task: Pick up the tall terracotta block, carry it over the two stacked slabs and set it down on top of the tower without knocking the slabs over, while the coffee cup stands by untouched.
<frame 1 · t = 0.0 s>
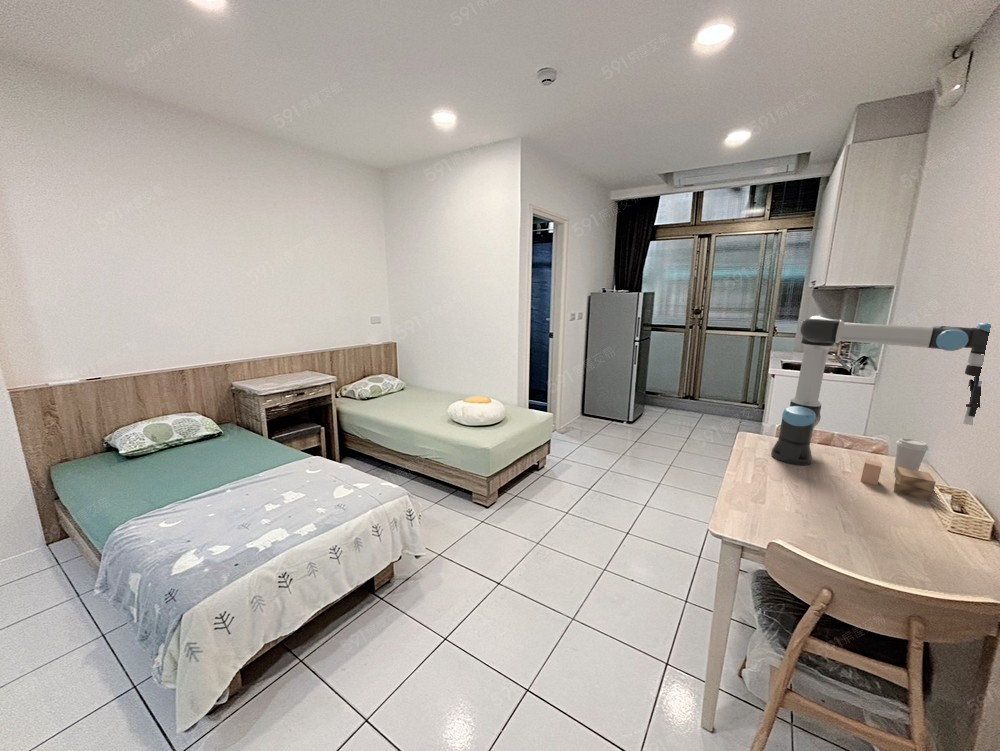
hand: (966, 420, 152), 28 cm above the table, fingers open, 13 cm apart
terracotta block: (869, 481, 162), on the table
coffee cup: (904, 475, 168), on the table
slab top: (912, 483, 153), point 4 cm above the table, touching slab bottom
slab bottom: (910, 493, 154), on the table, touching slab top
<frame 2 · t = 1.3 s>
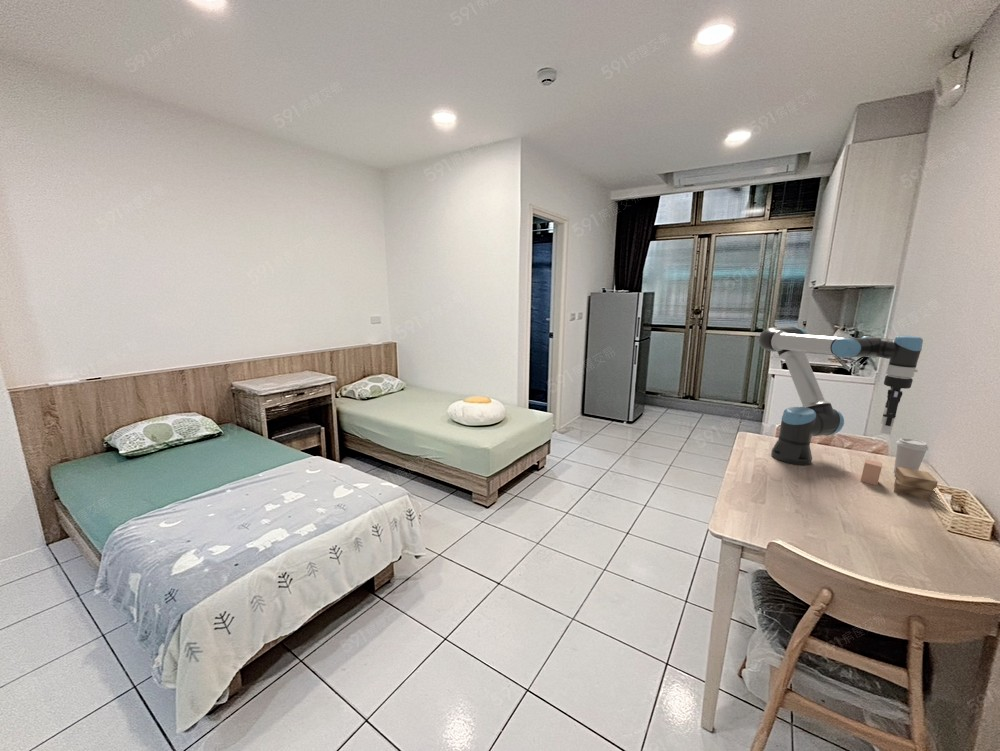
hand: (885, 428, 157), 23 cm above the table, fingers open, 13 cm apart
slab top: (913, 483, 153), point 4 cm above the table
slab bottom: (910, 492, 154), on the table
everything else where it was.
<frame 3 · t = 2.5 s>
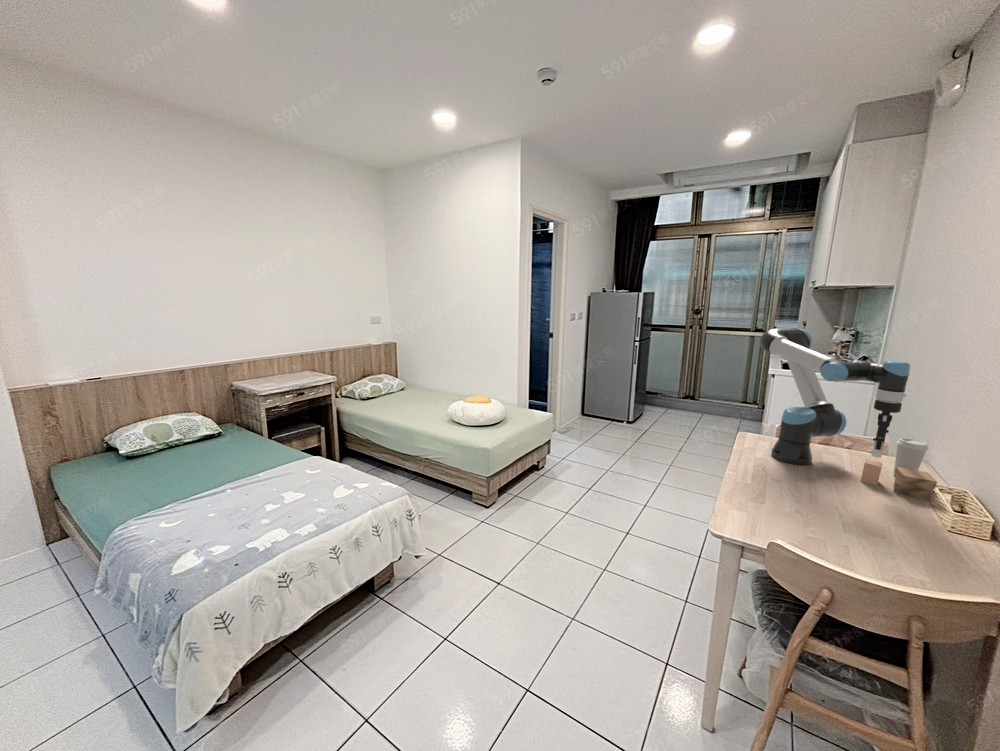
hand: (877, 452, 159), 13 cm above the table, fingers open, 13 cm apart
slab top: (913, 483, 153), point 4 cm above the table, touching slab bottom
slab bottom: (910, 492, 154), on the table, touching slab top
everything else where it was.
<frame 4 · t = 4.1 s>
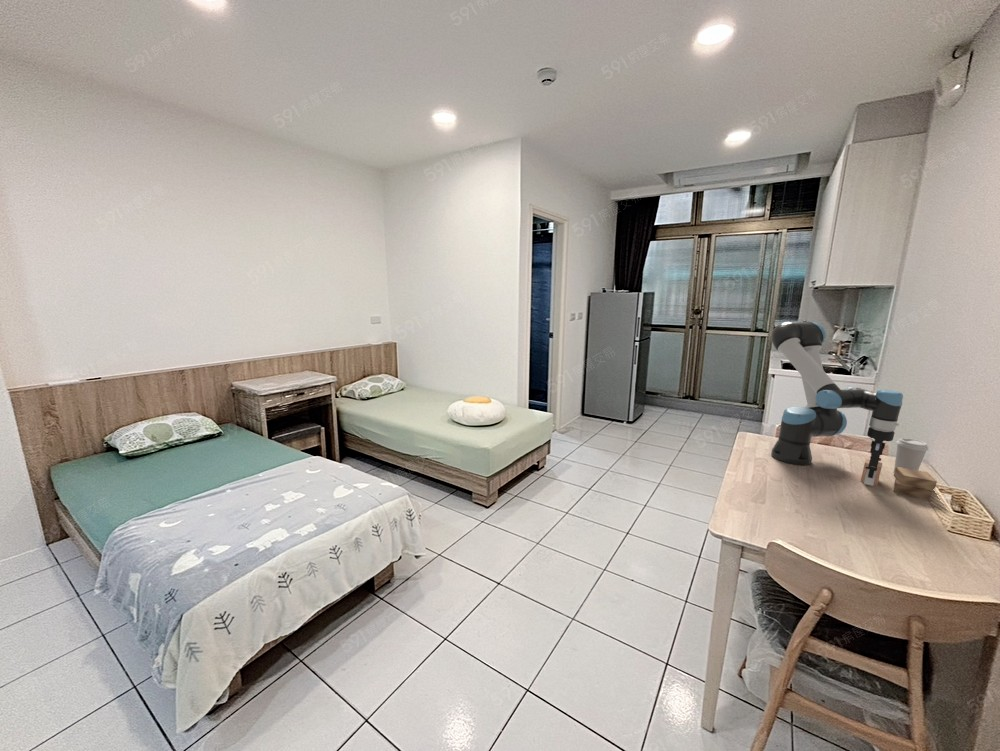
hand: (869, 479, 162), 1 cm above the table, fingers open, 11 cm apart
nothing on the table moved.
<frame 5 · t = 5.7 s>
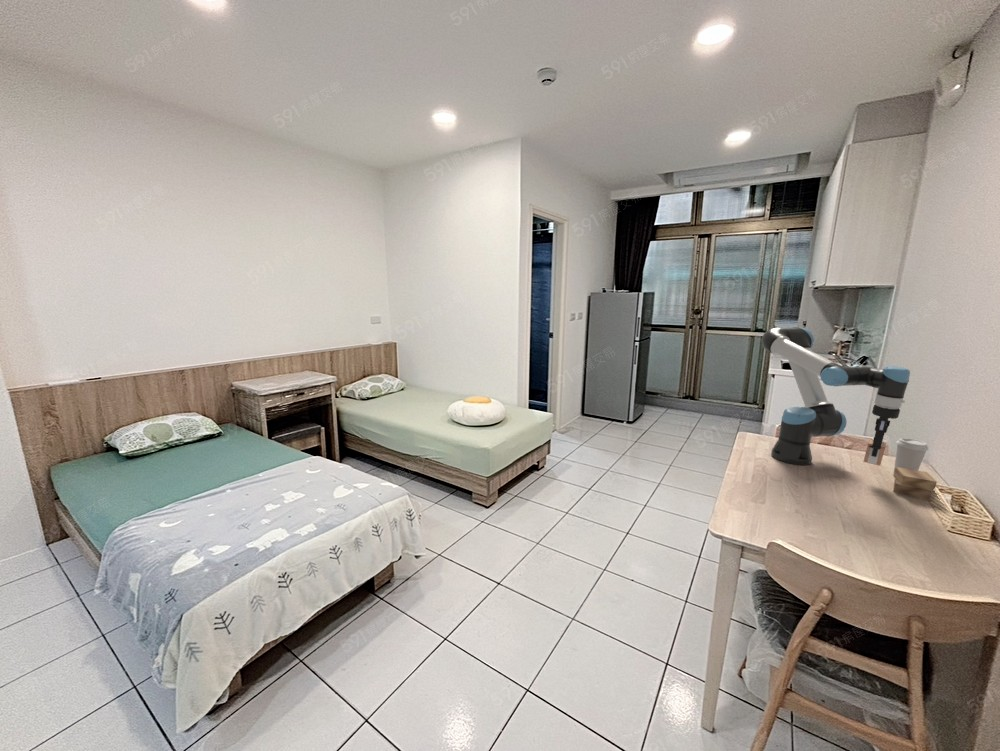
hand: (872, 460, 161), 9 cm above the table, fingers closed on terracotta block, 5 cm apart
terracotta block: (872, 461, 161), point 8 cm above the table, touching gripper
everything else where it was.
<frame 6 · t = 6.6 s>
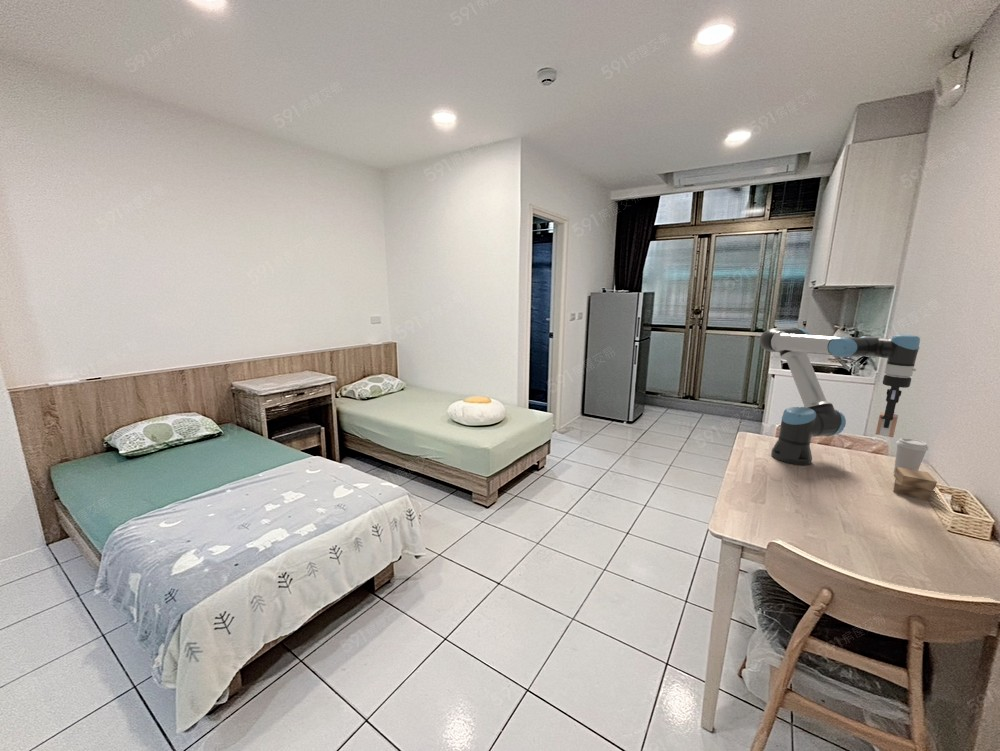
hand: (884, 433, 157), 21 cm above the table, fingers closed on terracotta block, 5 cm apart
terracotta block: (884, 434, 157), point 21 cm above the table, touching gripper
everything else where it was.
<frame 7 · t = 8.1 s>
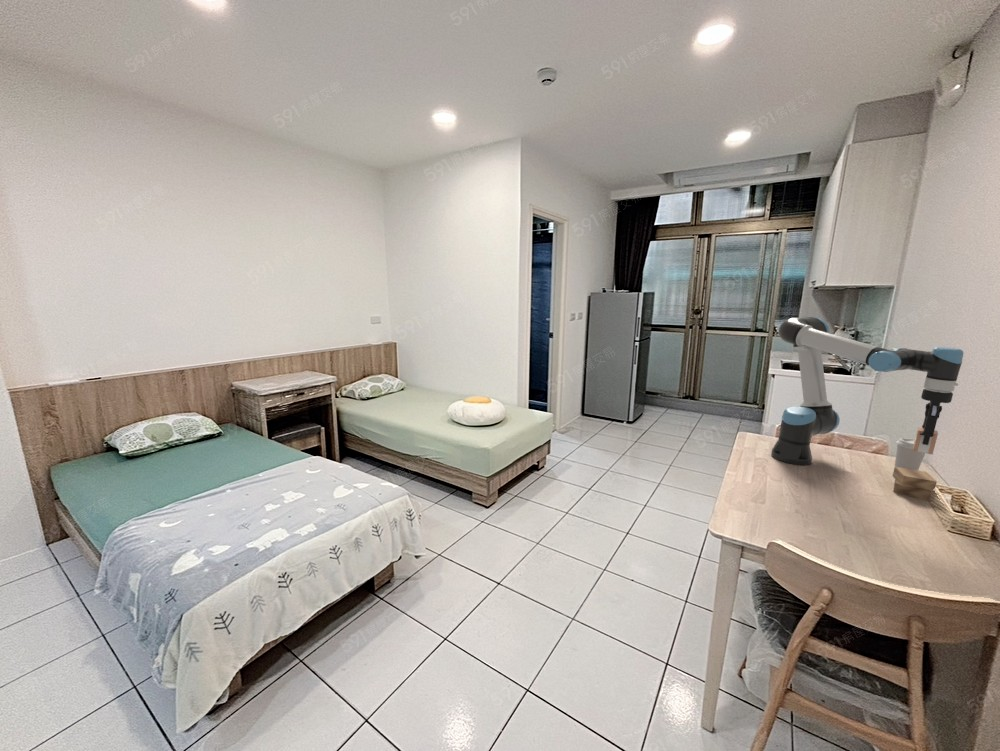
hand: (922, 449, 150), 17 cm above the table, fingers closed on terracotta block, 5 cm apart
terracotta block: (922, 450, 150), point 17 cm above the table, touching gripper
everything else where it was.
when the fingers open (9 cm above the table, at t = 10.2 s): terracotta block stays where it is, resting on slab top.
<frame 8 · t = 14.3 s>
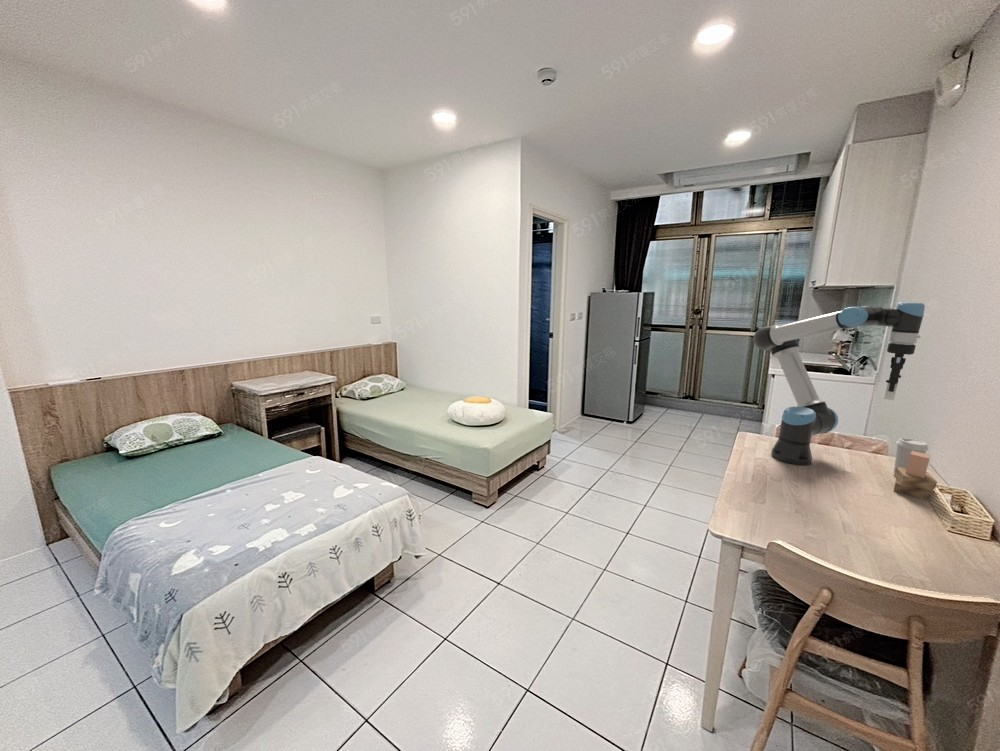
hand: (889, 396, 159), 35 cm above the table, fingers open, 13 cm apart
terracotta block: (915, 474, 152), point 7 cm above the table, touching slab top
slab top: (913, 483, 153), point 3 cm above the table, touching slab bottom, terracotta block
everything else where it was.
at the end: terracotta block inside the target area on the slab top (0.3 cm from its centre), point 4.0 cm above the slab top's base; terracotta block tilted 0°; slab top moved 0.5 cm from its start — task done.
